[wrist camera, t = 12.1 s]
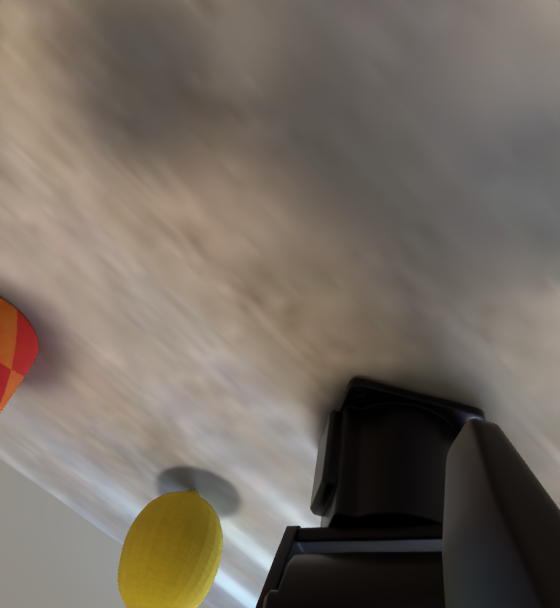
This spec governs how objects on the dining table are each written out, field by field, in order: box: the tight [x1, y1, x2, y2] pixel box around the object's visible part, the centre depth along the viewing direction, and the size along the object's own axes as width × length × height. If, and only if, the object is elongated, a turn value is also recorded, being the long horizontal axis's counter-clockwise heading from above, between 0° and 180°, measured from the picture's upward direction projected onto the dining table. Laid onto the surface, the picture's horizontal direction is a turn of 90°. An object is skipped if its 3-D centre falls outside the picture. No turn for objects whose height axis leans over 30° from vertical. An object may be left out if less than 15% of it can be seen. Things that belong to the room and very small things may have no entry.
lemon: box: [118, 489, 223, 608], centre depth 30 cm, size 6×6×8 cm
